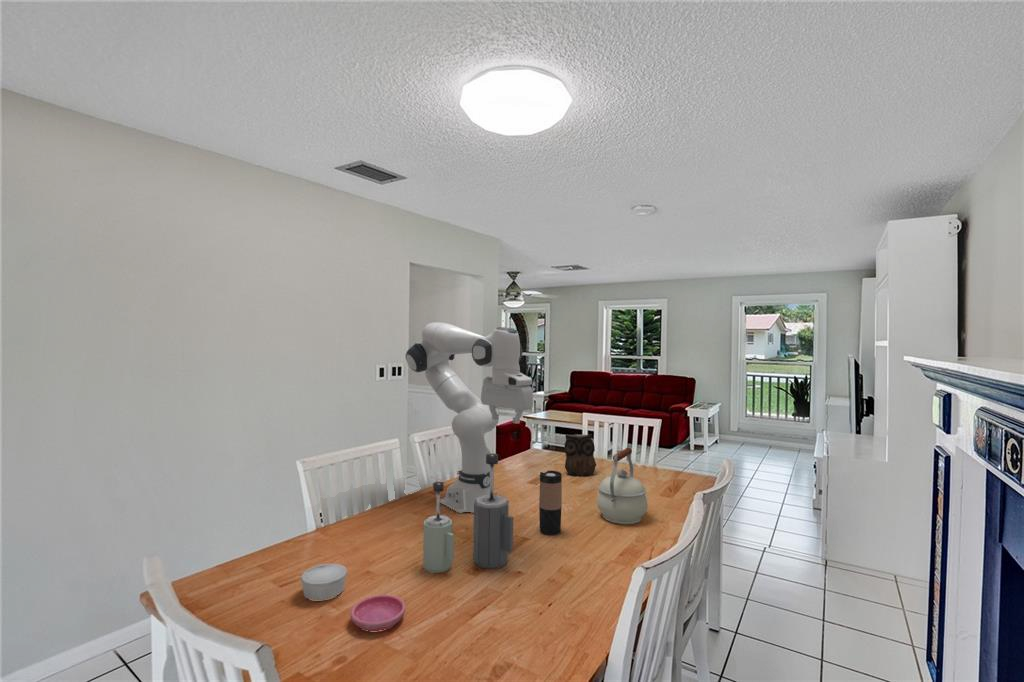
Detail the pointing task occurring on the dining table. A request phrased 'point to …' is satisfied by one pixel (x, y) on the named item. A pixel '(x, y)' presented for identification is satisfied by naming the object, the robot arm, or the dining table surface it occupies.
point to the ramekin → (323, 581)
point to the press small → (438, 544)
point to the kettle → (622, 494)
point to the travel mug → (550, 502)
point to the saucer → (378, 612)
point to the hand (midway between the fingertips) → (505, 421)
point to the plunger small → (438, 495)
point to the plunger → (491, 471)
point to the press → (492, 532)
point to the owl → (579, 455)
